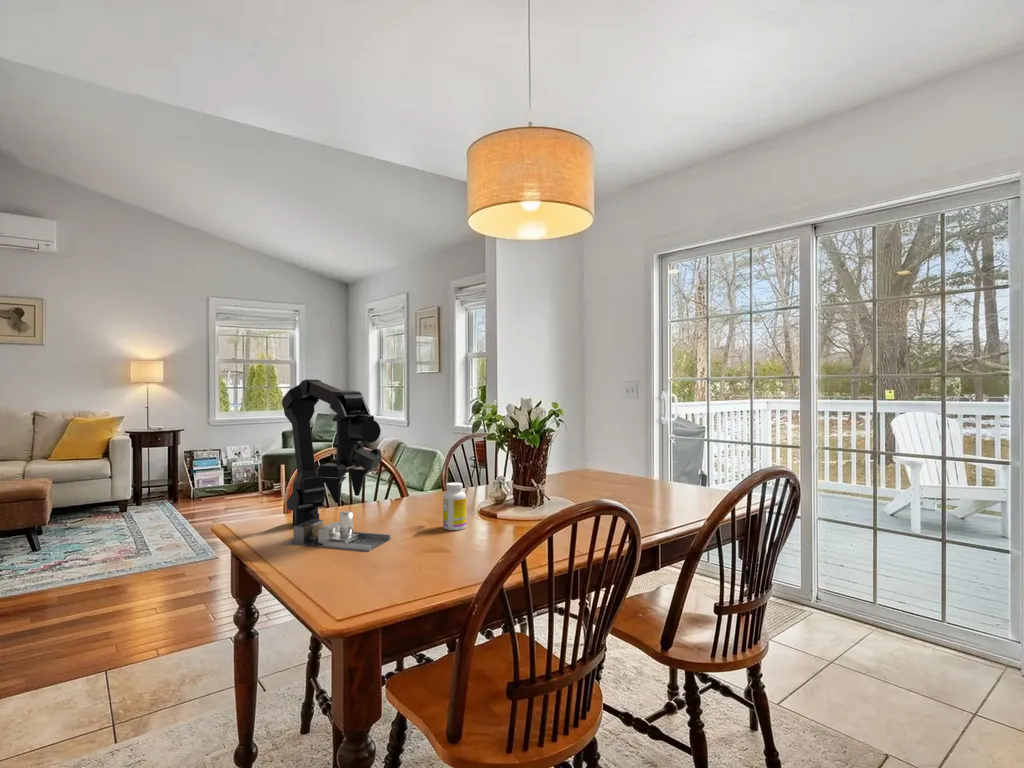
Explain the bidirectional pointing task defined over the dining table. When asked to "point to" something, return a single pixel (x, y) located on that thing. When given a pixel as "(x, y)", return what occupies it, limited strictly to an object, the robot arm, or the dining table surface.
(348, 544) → the press base
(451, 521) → the supplement bottle
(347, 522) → the ram
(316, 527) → the tan ball
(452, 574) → the dining table surface
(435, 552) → the dining table surface
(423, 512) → the dining table surface
